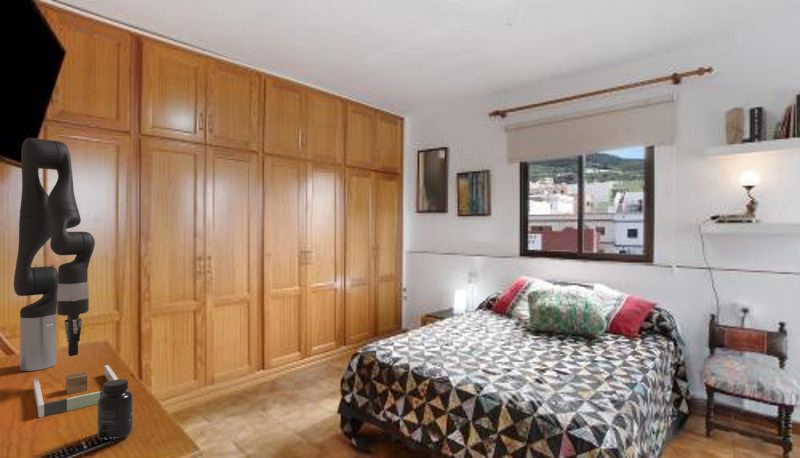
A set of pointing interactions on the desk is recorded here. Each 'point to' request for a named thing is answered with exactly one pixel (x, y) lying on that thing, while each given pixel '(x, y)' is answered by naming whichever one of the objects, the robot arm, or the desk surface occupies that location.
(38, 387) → the box
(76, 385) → the walnut block
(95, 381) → the desk surface
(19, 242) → the robot arm
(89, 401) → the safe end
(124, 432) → the supplement bottle
